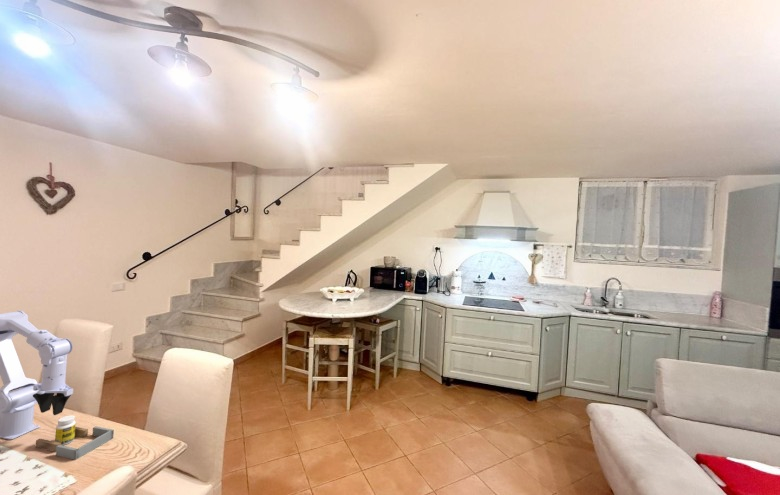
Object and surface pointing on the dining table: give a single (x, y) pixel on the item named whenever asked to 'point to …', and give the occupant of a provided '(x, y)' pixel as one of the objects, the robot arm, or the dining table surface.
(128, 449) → the dining table surface
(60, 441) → the supplement bottle
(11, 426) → the robot arm
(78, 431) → the parallel wooden rails
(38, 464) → the dining table surface
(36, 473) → the dining table surface
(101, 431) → the cradle
